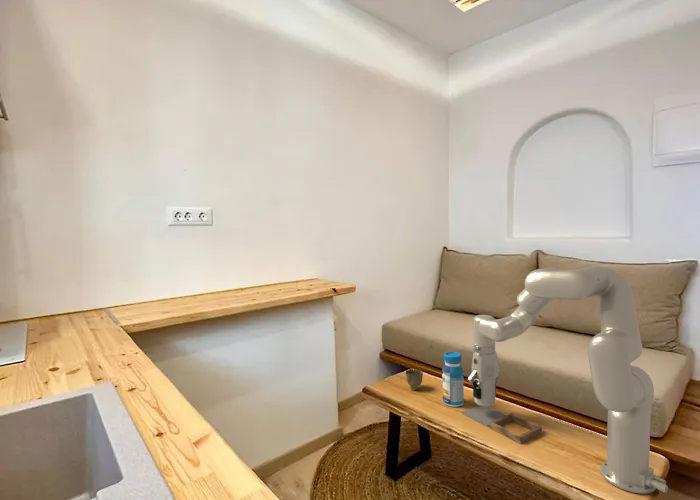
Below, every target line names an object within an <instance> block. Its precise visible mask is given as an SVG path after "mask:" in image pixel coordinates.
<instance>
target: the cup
mask: <svg viewBox="0 0 700 500" xmlns="http://www.w3.org/2000/svg"><path fill="white" fill-rule="evenodd" d="M405 375H406V377H405V378H406V383H407V384H408V385H409V386H410V389H411V390H412V391H417V390H419V388H420V386H421V384H422V382H423V375H424V371H422V369H419V368H417V369H416V368H414V369H413V368H409V369H407V370H405Z"/></svg>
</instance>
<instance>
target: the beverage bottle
mask: <svg viewBox="0 0 700 500" xmlns="http://www.w3.org/2000/svg"><path fill="white" fill-rule="evenodd" d="M443 361H444V365H443V366H442V375H441V377H442V378H441V379H442V402H443V404H445V405H447V406H448V407H451V408H452V407H454V408H457V407H462V406H463V405H464V403H465V400H464V398H465V396H464V395H465V394H464V390H465V388H464V385H465V384H464V383H465V382H464V381H465V379H464V378H465V377H464V368H463V367H462V365H461V364H462V354H461V353H460V352H457V351H446V352H444V354H443Z"/></svg>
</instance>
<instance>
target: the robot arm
mask: <svg viewBox="0 0 700 500" xmlns="http://www.w3.org/2000/svg"><path fill="white" fill-rule="evenodd" d="M593 297H594V298H595V297H598V299H599V304H598V315H599V319H600V332H599V333H597V334H595V335H594V336H593V337H592V338H591V339H590V341H589V344H588V347H587V358H588V363H589V371H590V378H591V382H592V388H593V391H594V392H593V393H594V396H595V397H596V398H597V401H598V402H599V403H600V404H601V406H602V407H604V408H605V409H607V429H606V430H607V432H606V433H607V434H606V436H607V437H606V438H607V440H606V444H607V445H606V456H607V457H606V458H607V459H606V461H605V462H604V463H602V464H601V466H600V470H599V471H600V474H601V476H602V477H603V478H604V479H605V480H606V481H607V482H608V483H609V484H611V485H613V486H615V487H617V488H618V489H621V490H623V491H627V492H630V493H633V494H634V493H635V494H642V495H644V494H651V493H653V492H655V491H656V490H658V491H660V492H662V493H664V494H667V492H668V489H669V487H668V485H667V481H666V480H665V479H662V478H661V477H658V476H656V474H655V473H654V471H655V469H654V468H653V467H651V466H650V459H651V458H650V454H651V453H650V452H651V451H650V449H651V448H650V445H651V440H650V439H651V419H652V418H651V415H652V406H653V401H654V395H655V391H654V388H655V387H654V384H653V380H652V378H651V377H650V375H649V374H648V372H646V371H645V370H643V369H642V368H641V367H638V366H636V365H632V362H635V361H636V360H637V359H639V357H640V356H641V355H642V353H643V344H642V337H641V332H640V327H639V322H638V316H637V311H636V305H635V299H634V293H633V291H632V288H631V286H630V283H629V282H628V280H627V279H626V278H625V277H624V276H623V275H622V274H620V272H619V271H616V270H614V269H613V268H609V267H605V266H599V265H597V266H596V265H595V266H587V267H581V268H577V269H560V268H558V267H544V268H537V269H534V270H532V271H530V272H529V273H528V274H527V275H526V277H525V279H524V289H523V290H522V291H521V292H520V293H519V294H517V296H516V302H517V304H518V307H517V308H516V309H515V310H514V311H513V312H512V313H511V314H510V315H509V316H505V317H502V318H498V319H495V318H494V316H492V315H489V314H478V315H475V316H474V318H473V353H472V358H471V359H472V360H471V374H470V375H469V376H468V378H467V381H468V382H469V384H470V385H471V387H472V389H473V390H472V393H473V394H472V397H475V398H478V399H481V388H480V386H481V382H486V381H487V379H488V378H489V377H488V376H490V375H493V377H495V394H497V383H498V378H499V375H500V372H501V369H500V368H499V360H498V353H497V351H496V343H501V342H506V341H508V340H511V339H514V338H516V337H519V336H521V335H522V334H524V332H526V331H527V330H528V329H529V328H530V327H531V326H532V325H533V324H534V323H535V322H536V321H537V319H538V317H539V315H540V314H541V313H542V311H544V310H545V308H547V307H548V306H549V305H550V304H551V303H552V302H553V301H554V300H568V301H581V300H586V299H591V298H593ZM476 377H478V379H476ZM476 380H477V381H478V384H477V383H476Z"/></svg>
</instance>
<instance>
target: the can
mask: <svg viewBox="0 0 700 500" xmlns="http://www.w3.org/2000/svg"><path fill="white" fill-rule="evenodd" d="M488 377H489V378H488V379H487V381H486V382H481V386H480V388H481V399H478V398H475V397H474V396H473V397H474V398H473V399H474V400H473V401H474V402H475V404H476V405H477V406H482V407H490V408H492V407H493V406H495V404H496V393H495V377H493V375H490V376H488ZM476 379H478V377H476ZM476 383H477V384H478V381H477V380H476Z"/></svg>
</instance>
